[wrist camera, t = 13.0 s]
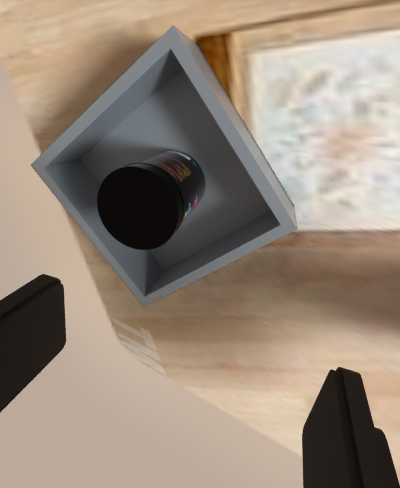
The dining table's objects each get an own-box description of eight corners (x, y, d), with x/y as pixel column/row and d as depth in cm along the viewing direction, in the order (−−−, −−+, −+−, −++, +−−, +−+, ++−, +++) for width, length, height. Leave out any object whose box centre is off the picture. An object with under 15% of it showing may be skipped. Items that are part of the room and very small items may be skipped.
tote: (294, 205, 32) (297, 228, 26) (165, 275, 39) (143, 307, 33) (196, 43, 28) (173, 25, 22) (74, 155, 35) (30, 165, 29)
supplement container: (145, 204, 35) (96, 239, 25) (149, 143, 32) (96, 157, 22) (202, 217, 34) (173, 258, 24) (212, 155, 31) (183, 175, 21)
